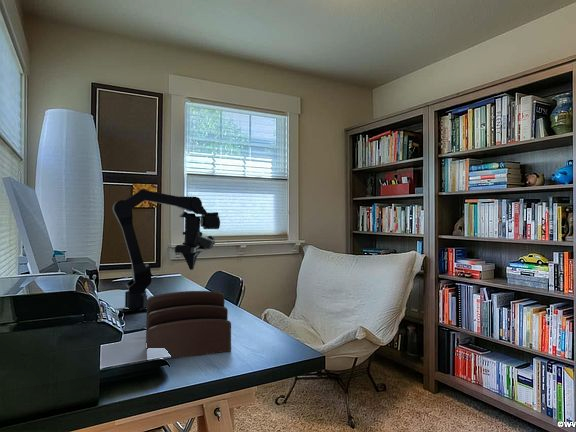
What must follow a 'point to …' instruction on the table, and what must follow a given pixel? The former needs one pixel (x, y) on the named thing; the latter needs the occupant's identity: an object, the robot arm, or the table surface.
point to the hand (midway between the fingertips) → (191, 269)
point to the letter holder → (188, 323)
